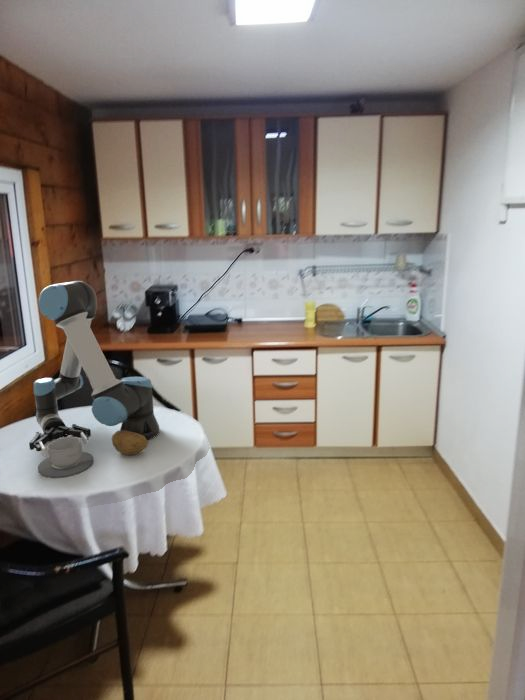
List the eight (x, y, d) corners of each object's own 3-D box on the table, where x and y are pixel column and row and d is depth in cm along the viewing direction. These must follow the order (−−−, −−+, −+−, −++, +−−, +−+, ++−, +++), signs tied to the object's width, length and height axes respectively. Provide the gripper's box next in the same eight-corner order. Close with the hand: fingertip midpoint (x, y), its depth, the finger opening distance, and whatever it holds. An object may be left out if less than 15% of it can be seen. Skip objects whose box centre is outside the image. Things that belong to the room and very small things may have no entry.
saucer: (102, 454, 179) (102, 451, 178) (78, 479, 161) (78, 476, 161) (55, 452, 181) (55, 449, 181) (27, 476, 164) (26, 473, 163)
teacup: (74, 472, 164) (71, 449, 162) (43, 471, 165) (40, 449, 163) (92, 453, 177) (90, 432, 175) (63, 452, 178) (60, 432, 176)
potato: (137, 462, 172) (135, 441, 170) (106, 455, 178) (104, 434, 176) (155, 451, 181) (153, 431, 179) (125, 444, 187) (123, 424, 185)
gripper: (88, 428, 191) (104, 448, 174) (17, 444, 178) (27, 467, 161) (86, 410, 190) (102, 428, 172) (15, 424, 176) (23, 446, 159)
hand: (65, 447), depth 167 cm, fingers open, 13 cm apart
